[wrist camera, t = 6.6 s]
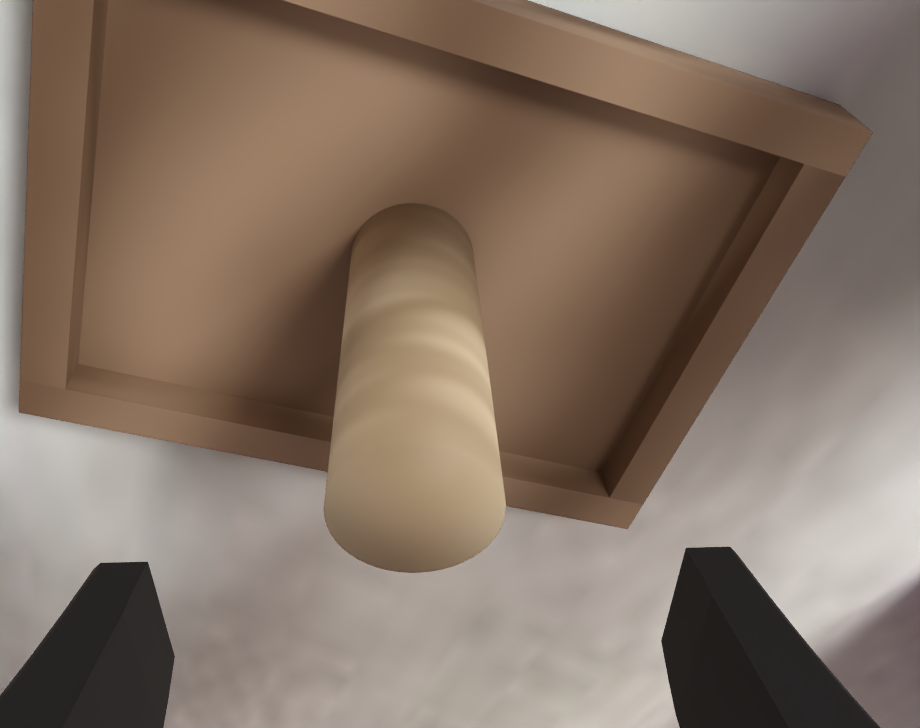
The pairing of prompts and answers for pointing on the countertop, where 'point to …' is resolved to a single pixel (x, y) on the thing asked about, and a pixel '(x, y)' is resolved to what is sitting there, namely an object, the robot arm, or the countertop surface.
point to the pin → (413, 400)
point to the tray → (398, 182)
